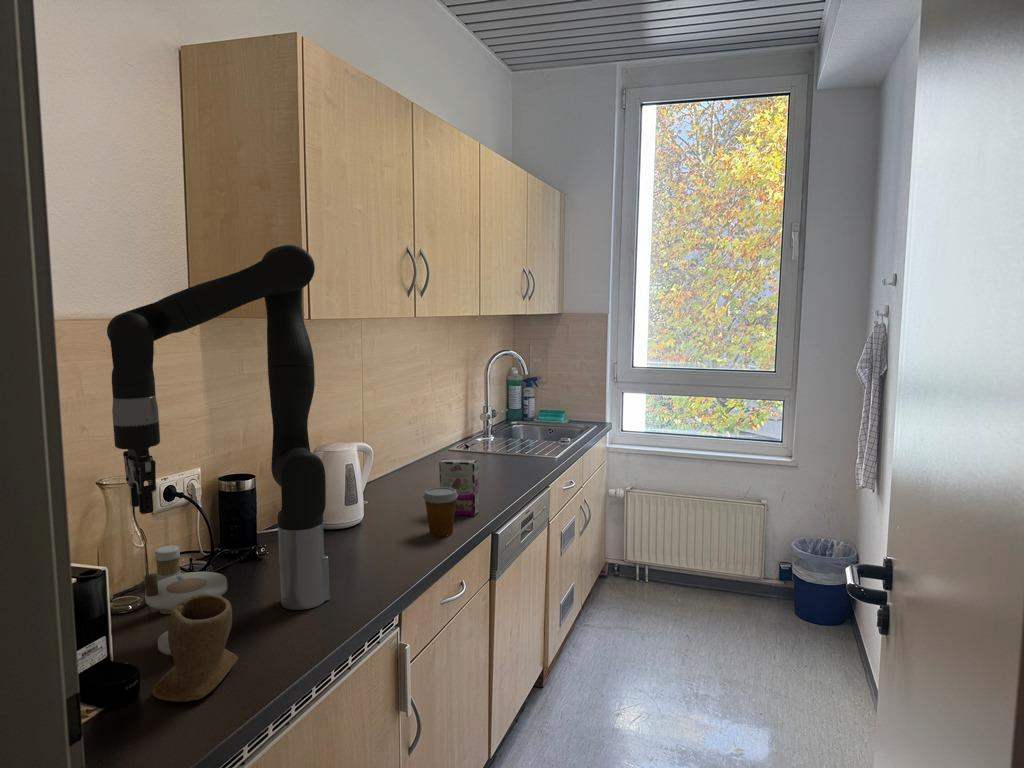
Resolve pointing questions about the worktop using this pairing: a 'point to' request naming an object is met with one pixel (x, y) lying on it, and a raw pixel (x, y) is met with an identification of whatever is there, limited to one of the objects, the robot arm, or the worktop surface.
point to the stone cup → (197, 648)
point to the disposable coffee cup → (440, 510)
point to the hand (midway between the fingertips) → (142, 509)
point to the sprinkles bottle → (167, 565)
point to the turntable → (182, 588)
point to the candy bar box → (462, 483)
